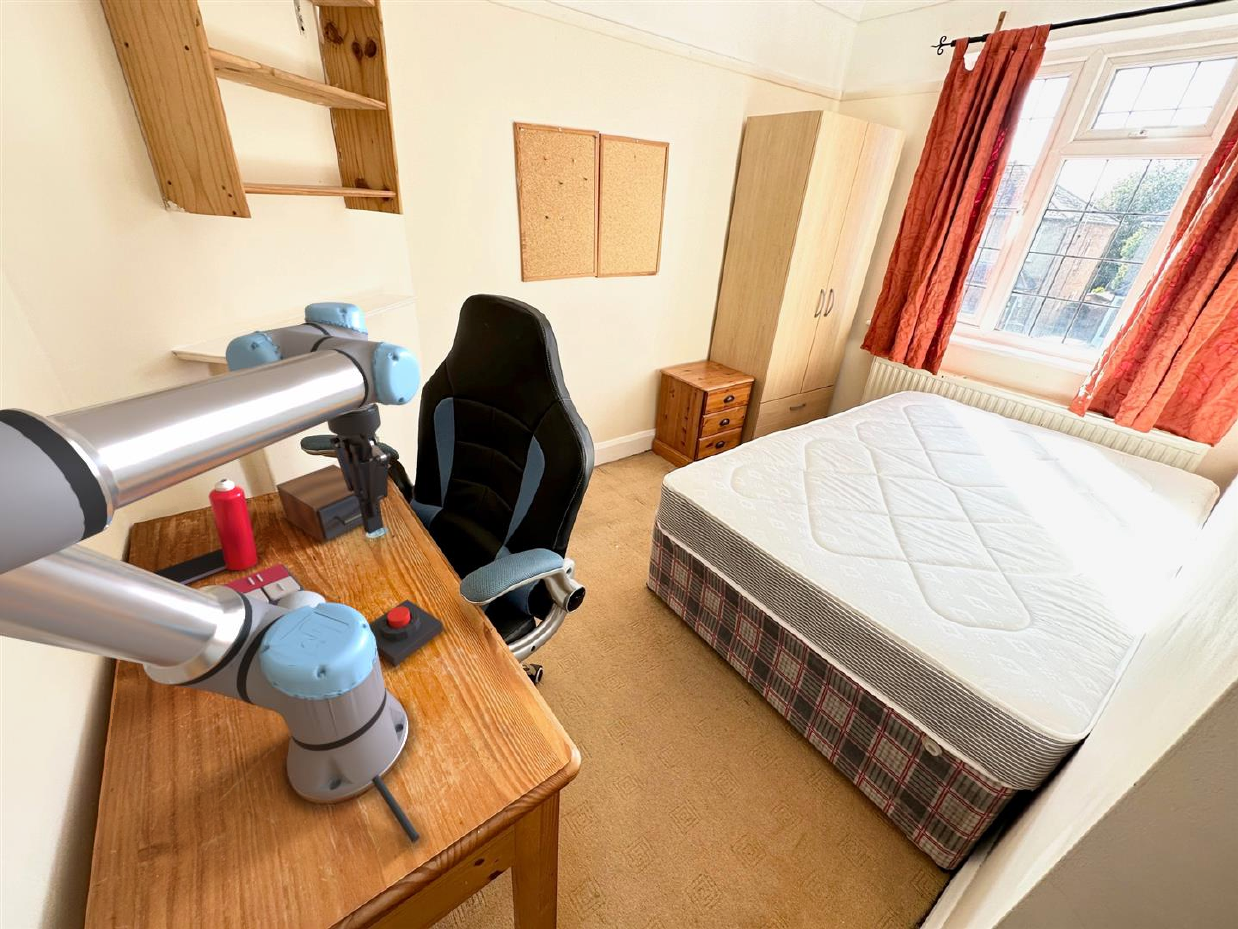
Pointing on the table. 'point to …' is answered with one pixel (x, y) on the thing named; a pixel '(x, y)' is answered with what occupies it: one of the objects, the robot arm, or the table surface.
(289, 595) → the ceramic mug
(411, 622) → the panel
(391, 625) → the button
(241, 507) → the bottle
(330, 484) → the cabinet
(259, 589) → the calculator
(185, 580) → the smartphone
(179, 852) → the table surface
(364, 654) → the robot arm
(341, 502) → the drawer
